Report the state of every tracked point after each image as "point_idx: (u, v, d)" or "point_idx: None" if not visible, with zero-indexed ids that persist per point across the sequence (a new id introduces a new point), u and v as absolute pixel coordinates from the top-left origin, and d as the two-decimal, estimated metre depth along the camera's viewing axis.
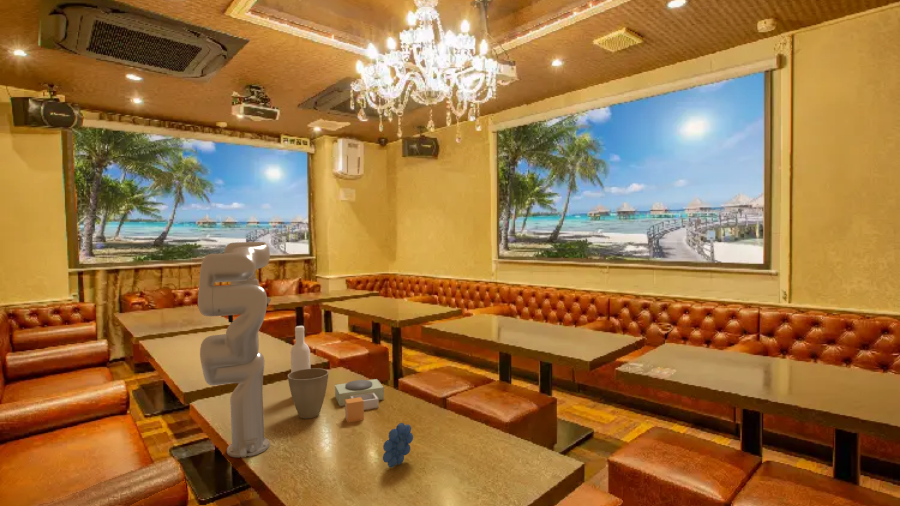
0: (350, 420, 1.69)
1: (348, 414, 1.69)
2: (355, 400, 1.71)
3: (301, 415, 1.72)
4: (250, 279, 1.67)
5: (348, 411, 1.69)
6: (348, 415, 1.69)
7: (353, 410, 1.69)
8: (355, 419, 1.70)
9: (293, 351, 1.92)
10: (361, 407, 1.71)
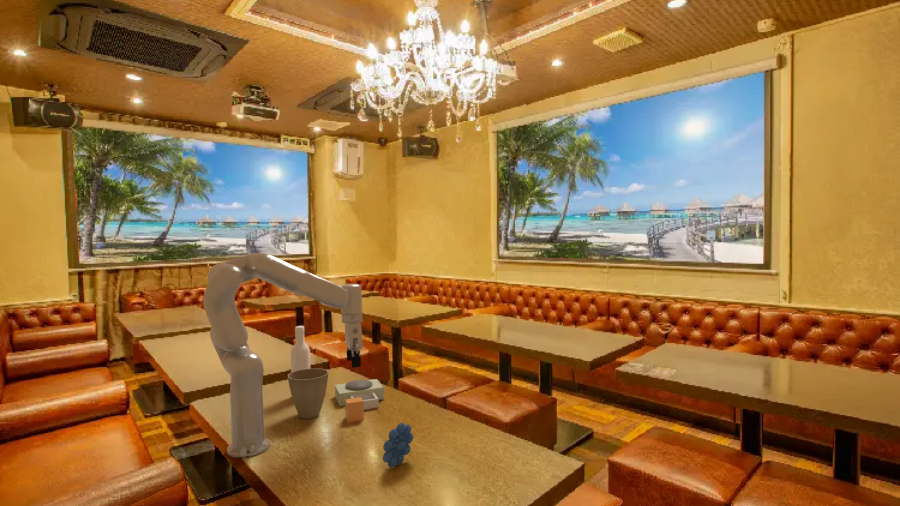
0: (350, 420, 1.69)
1: (348, 414, 1.69)
2: (355, 400, 1.71)
3: (301, 415, 1.72)
4: None
5: (348, 411, 1.69)
6: (348, 415, 1.69)
7: (353, 410, 1.69)
8: (355, 419, 1.70)
9: (293, 351, 1.92)
10: (361, 407, 1.71)
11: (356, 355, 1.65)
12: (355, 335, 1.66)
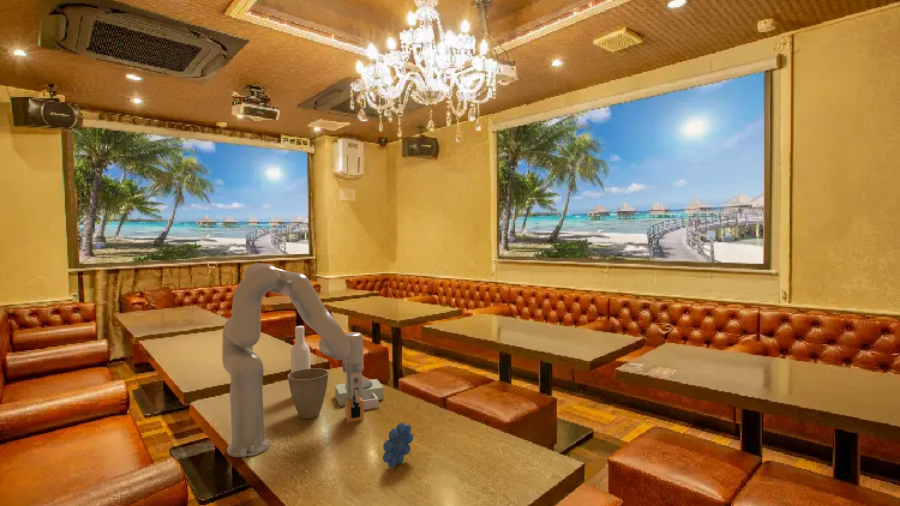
0: (350, 420, 1.69)
1: (348, 414, 1.69)
2: None
3: (301, 415, 1.72)
4: None
5: (348, 411, 1.69)
6: (348, 415, 1.69)
7: None
8: (355, 419, 1.70)
9: (293, 351, 1.92)
10: (362, 406, 1.71)
11: (356, 406, 1.68)
12: (356, 385, 1.67)
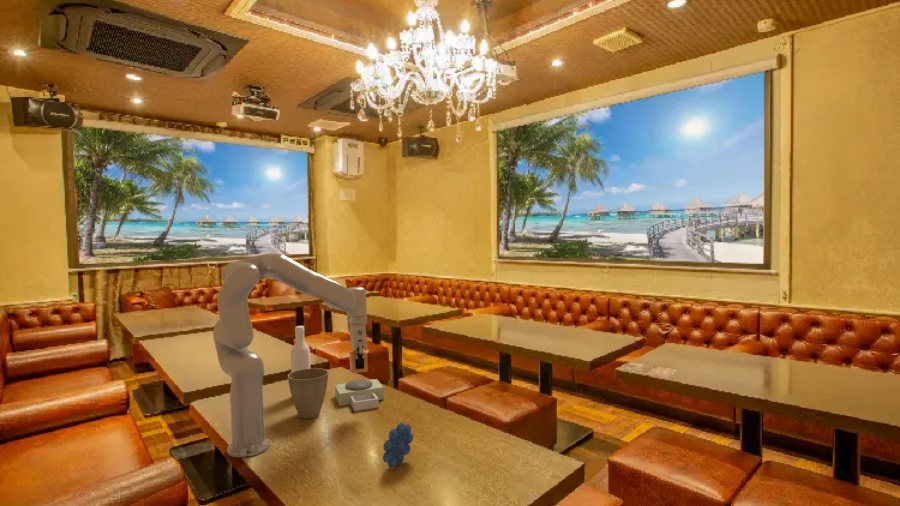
0: (354, 371, 1.74)
1: (352, 365, 1.74)
2: None
3: (301, 415, 1.72)
4: None
5: (352, 362, 1.74)
6: (352, 366, 1.74)
7: None
8: (359, 370, 1.75)
9: (293, 351, 1.92)
10: (365, 359, 1.76)
11: (360, 357, 1.73)
12: (360, 337, 1.72)
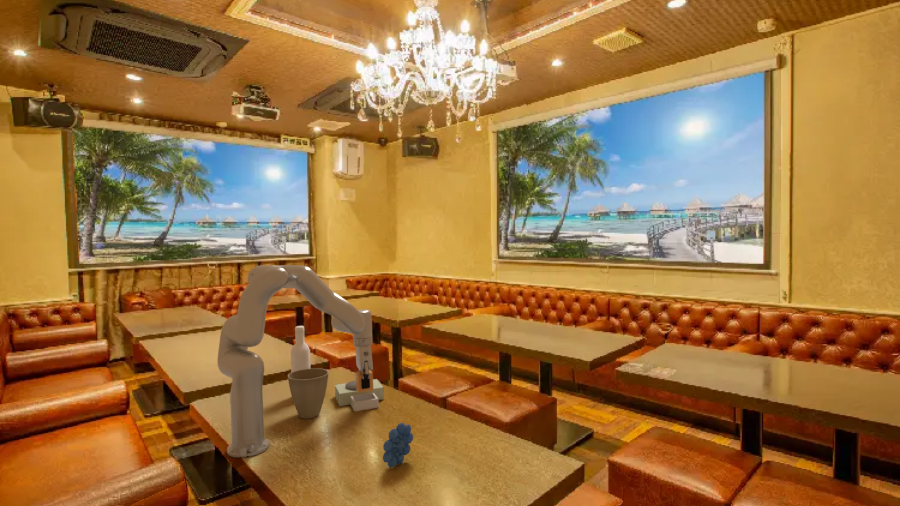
0: (360, 391, 1.81)
1: (359, 385, 1.81)
2: None
3: (301, 415, 1.72)
4: None
5: (359, 382, 1.81)
6: (359, 386, 1.81)
7: None
8: (365, 390, 1.82)
9: (293, 351, 1.92)
10: (371, 378, 1.83)
11: (365, 378, 1.80)
12: (366, 358, 1.79)
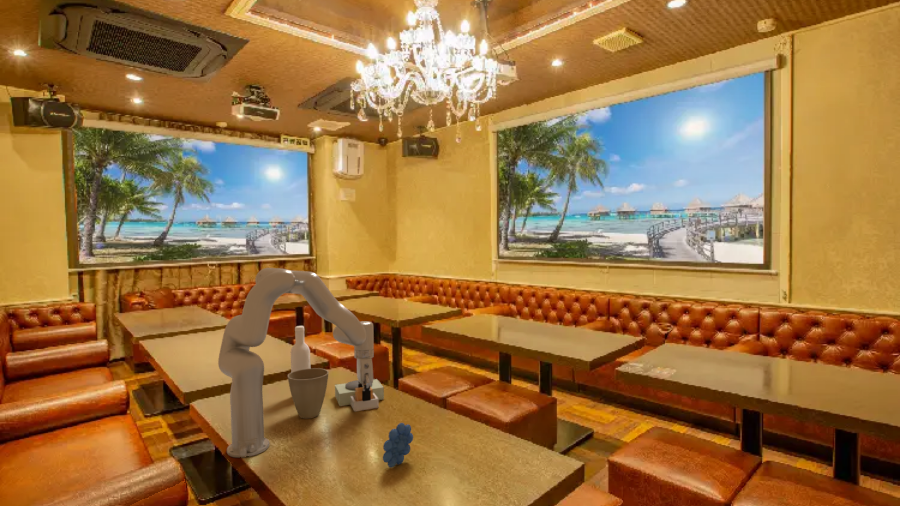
0: None
1: None
2: None
3: (301, 415, 1.72)
4: None
5: (358, 399, 1.81)
6: None
7: None
8: None
9: (293, 351, 1.92)
10: (371, 395, 1.83)
11: (366, 390, 1.77)
12: (366, 370, 1.78)
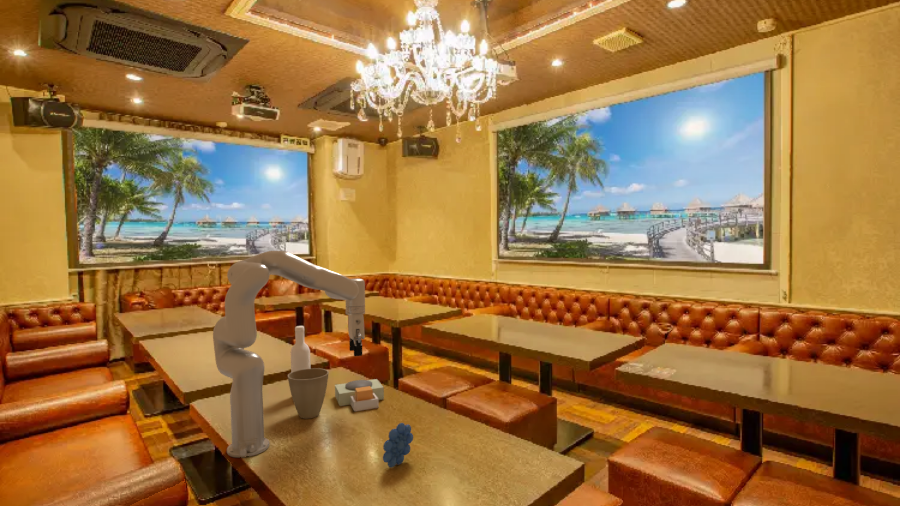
0: None
1: None
2: (365, 389, 1.83)
3: (301, 415, 1.72)
4: None
5: (358, 399, 1.81)
6: None
7: (363, 398, 1.82)
8: None
9: (293, 351, 1.92)
10: (371, 395, 1.83)
11: (358, 344, 1.77)
12: (358, 326, 1.78)
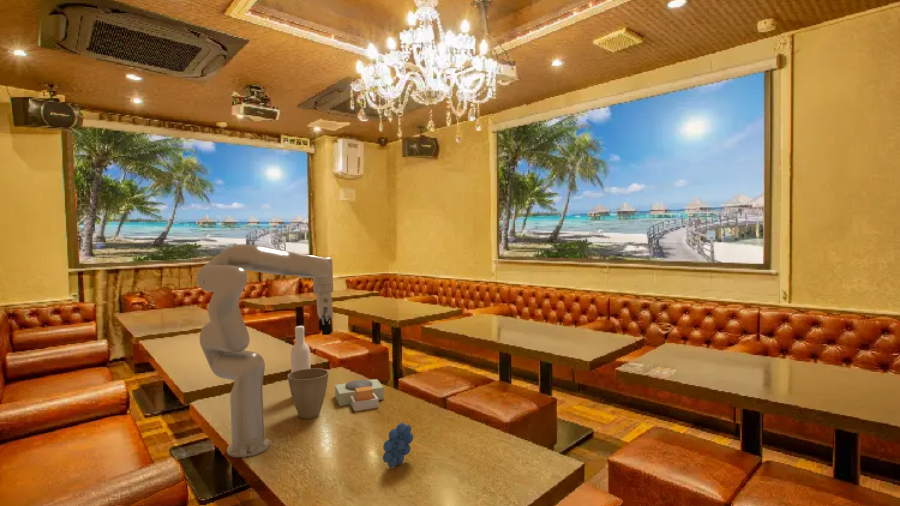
0: None
1: None
2: (365, 389, 1.83)
3: (301, 415, 1.72)
4: None
5: (358, 399, 1.81)
6: None
7: (363, 398, 1.82)
8: None
9: (293, 351, 1.92)
10: (371, 395, 1.83)
11: (326, 323, 1.75)
12: (325, 304, 1.76)
